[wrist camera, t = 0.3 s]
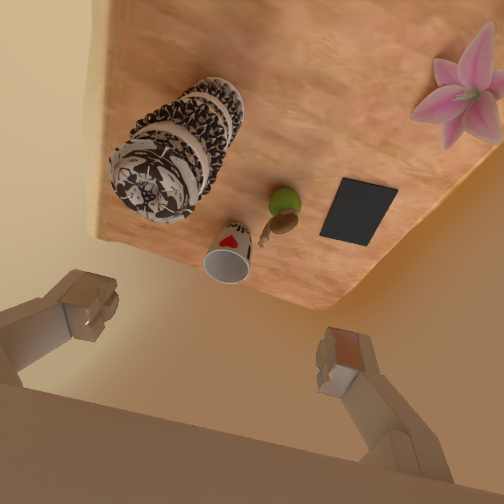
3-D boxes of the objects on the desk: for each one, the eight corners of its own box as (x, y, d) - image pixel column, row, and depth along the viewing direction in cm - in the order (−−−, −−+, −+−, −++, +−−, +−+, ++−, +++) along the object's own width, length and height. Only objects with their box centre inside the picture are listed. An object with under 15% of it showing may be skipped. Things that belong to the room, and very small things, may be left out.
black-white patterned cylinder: (239, 66, 39) (175, 127, 21) (252, 135, 45) (212, 233, 26) (177, 80, 42) (69, 146, 23) (197, 144, 47) (124, 240, 29)
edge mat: (343, 177, 47) (343, 178, 47) (397, 189, 47) (398, 191, 47) (319, 234, 55) (319, 235, 55) (366, 245, 55) (366, 246, 55)
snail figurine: (259, 192, 51) (249, 233, 42) (292, 176, 48) (289, 217, 40) (274, 216, 54) (267, 259, 45) (306, 202, 51) (306, 245, 42)
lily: (486, -1, 32) (467, 14, 27) (574, 64, 32) (570, 93, 26) (405, 95, 43) (380, 118, 38) (469, 147, 42) (453, 178, 37)
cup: (265, 230, 57) (258, 266, 49) (242, 254, 61) (233, 290, 54) (230, 208, 54) (217, 241, 47) (209, 234, 59) (195, 268, 52)
